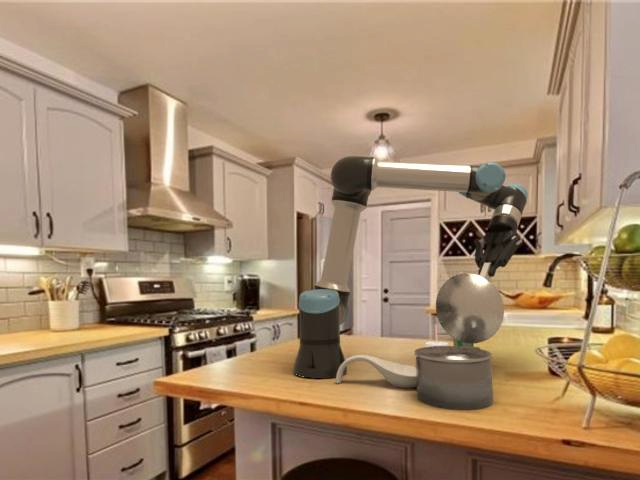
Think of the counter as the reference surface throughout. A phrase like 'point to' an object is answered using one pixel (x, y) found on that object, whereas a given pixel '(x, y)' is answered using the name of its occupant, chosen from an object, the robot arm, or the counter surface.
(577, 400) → the counter surface
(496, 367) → the counter surface
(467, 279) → the lid
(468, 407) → the cooker pot
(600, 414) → the counter surface
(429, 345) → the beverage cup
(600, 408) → the counter surface
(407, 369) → the spoon rest
